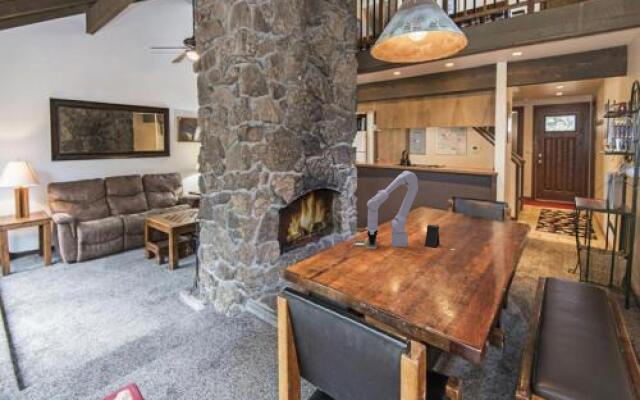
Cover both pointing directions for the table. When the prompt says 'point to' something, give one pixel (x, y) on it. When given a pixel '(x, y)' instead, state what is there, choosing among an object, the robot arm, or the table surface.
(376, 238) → the gray block
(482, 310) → the table surface
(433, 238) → the phone stand
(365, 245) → the door board
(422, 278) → the table surface
